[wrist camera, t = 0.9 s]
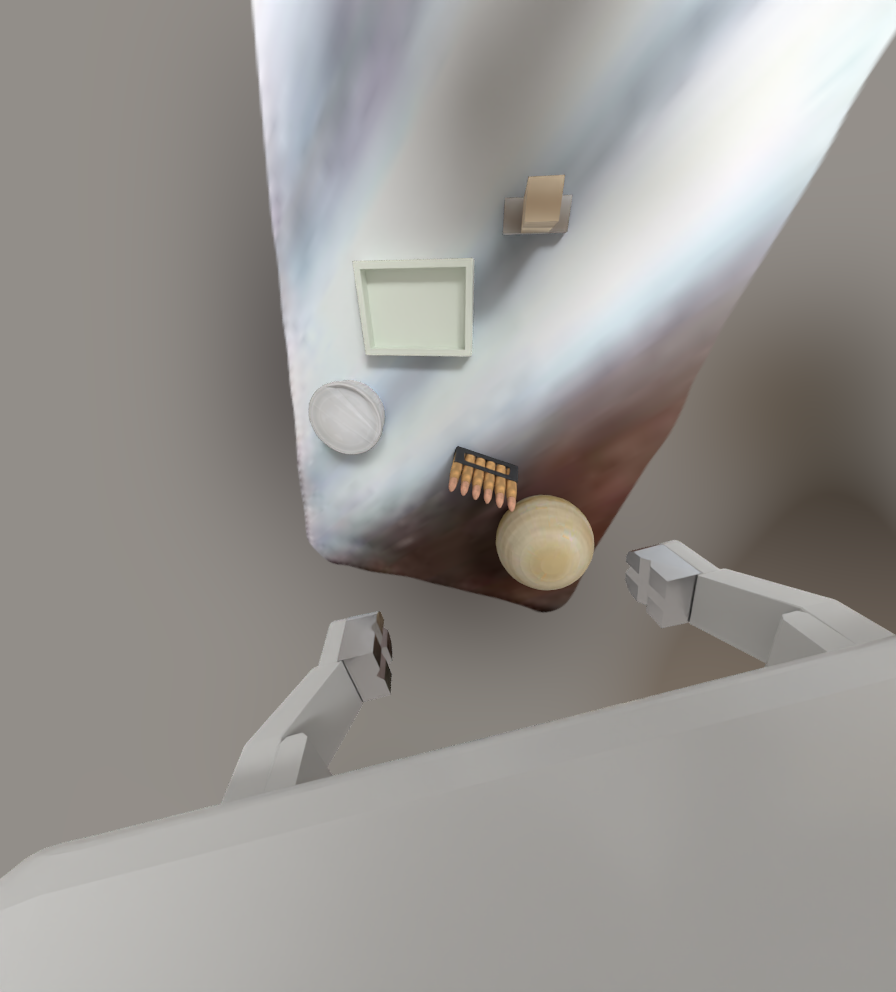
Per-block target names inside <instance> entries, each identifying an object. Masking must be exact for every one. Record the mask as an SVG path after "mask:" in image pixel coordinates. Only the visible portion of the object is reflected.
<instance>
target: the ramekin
mask: <svg viewBox="0 0 896 992" xmlns="http://www.w3.org/2000/svg"><path fill="white" fill-rule="evenodd" d="M309 418H310V422H311V425H312V427H313V429H314V431H315V433H316V435H317V436H318V437H319V438H320V439H321V440H322V441H323V442H324V443H325V444H326V445H327V446H329V447H330V448H332V449H333V450H335V451H338V452H340V453H344V454H361V453H364V452H366V451H368V450H370V449H371V448H372V447H373V446H374V445H375V444H376V443H377V442H378V440H379V439H380V437H381V434H382V431H383V425H384V421H385V410H384V406H383V403H382V401H381V399H380V398H379V396H378V395H377V394H376V392H375V391H374V390H373V389H372V388H370V387H369V386H367V385H366V384H364V383H361V382H358V381H354V380H344V381H335V382H330V383H327V384H325V385H323V386H322V387H320V388H319V389H318V390H317V391H316V392H315V393H314V395H313V396H312V398H311V400H310V404H309Z"/></svg>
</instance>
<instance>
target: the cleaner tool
mask: <svg viewBox="0 0 896 992" xmlns="http://www.w3.org/2000/svg"><path fill="white" fill-rule="evenodd" d="M564 179H565V175H551V176H533V177H528V181H527V186H526V190H525V194H524V197H513V198H505V205H504V221H503V235H517V234H547V233H566V232H567V229H568V223H569V216H570V209H571V202H572V195H562V194H563V186H564Z"/></svg>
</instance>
